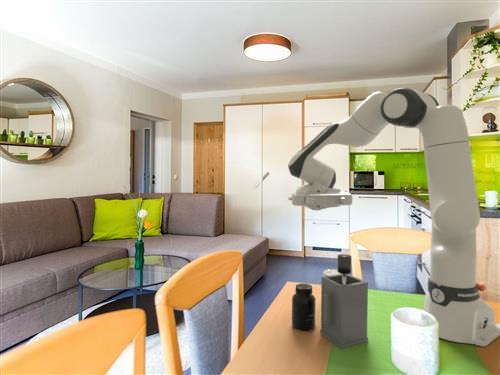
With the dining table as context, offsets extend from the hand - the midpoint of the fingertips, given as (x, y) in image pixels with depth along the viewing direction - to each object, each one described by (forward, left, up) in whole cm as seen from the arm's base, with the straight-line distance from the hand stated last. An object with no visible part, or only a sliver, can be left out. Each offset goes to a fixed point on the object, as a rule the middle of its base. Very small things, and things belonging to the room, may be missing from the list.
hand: (329, 201), depth 103 cm
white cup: (-8, -7, -36) cm, 38 cm away
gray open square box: (+6, +14, -36) cm, 39 cm away
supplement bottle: (+12, +4, -36) cm, 38 cm away
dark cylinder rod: (+6, +14, -30) cm, 34 cm away
